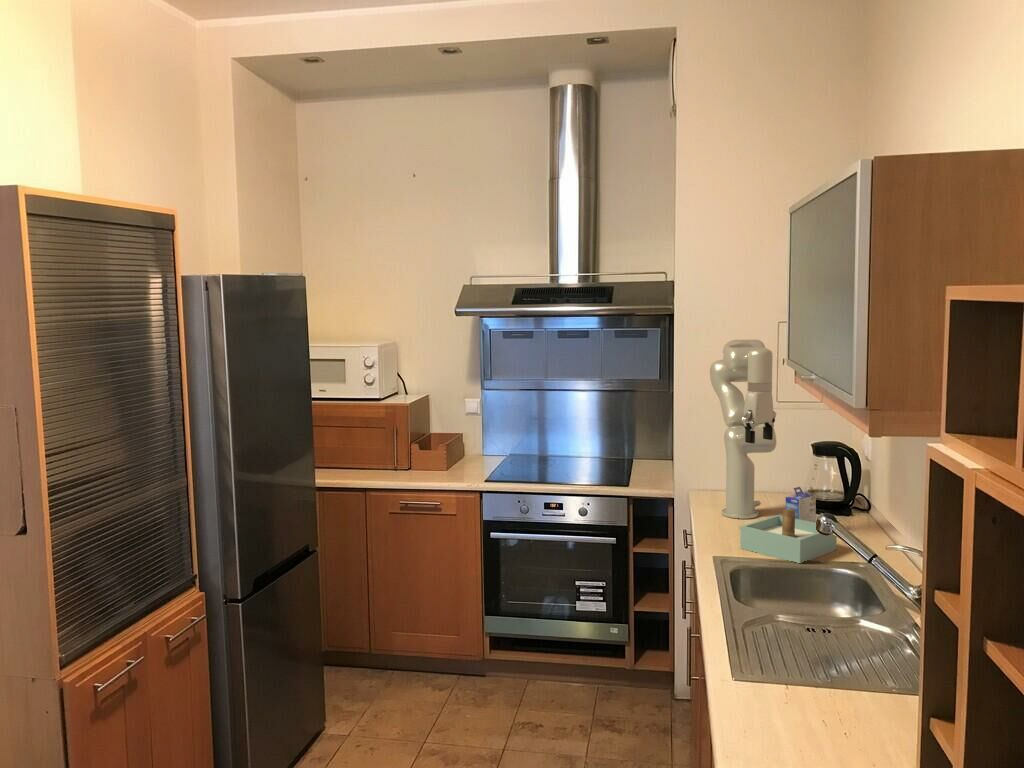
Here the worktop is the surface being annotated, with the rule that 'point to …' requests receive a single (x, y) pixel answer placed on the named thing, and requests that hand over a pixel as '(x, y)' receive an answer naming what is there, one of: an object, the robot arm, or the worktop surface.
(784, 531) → the peg
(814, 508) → the ink cartridge box
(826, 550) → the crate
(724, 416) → the robot arm
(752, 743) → the worktop surface
